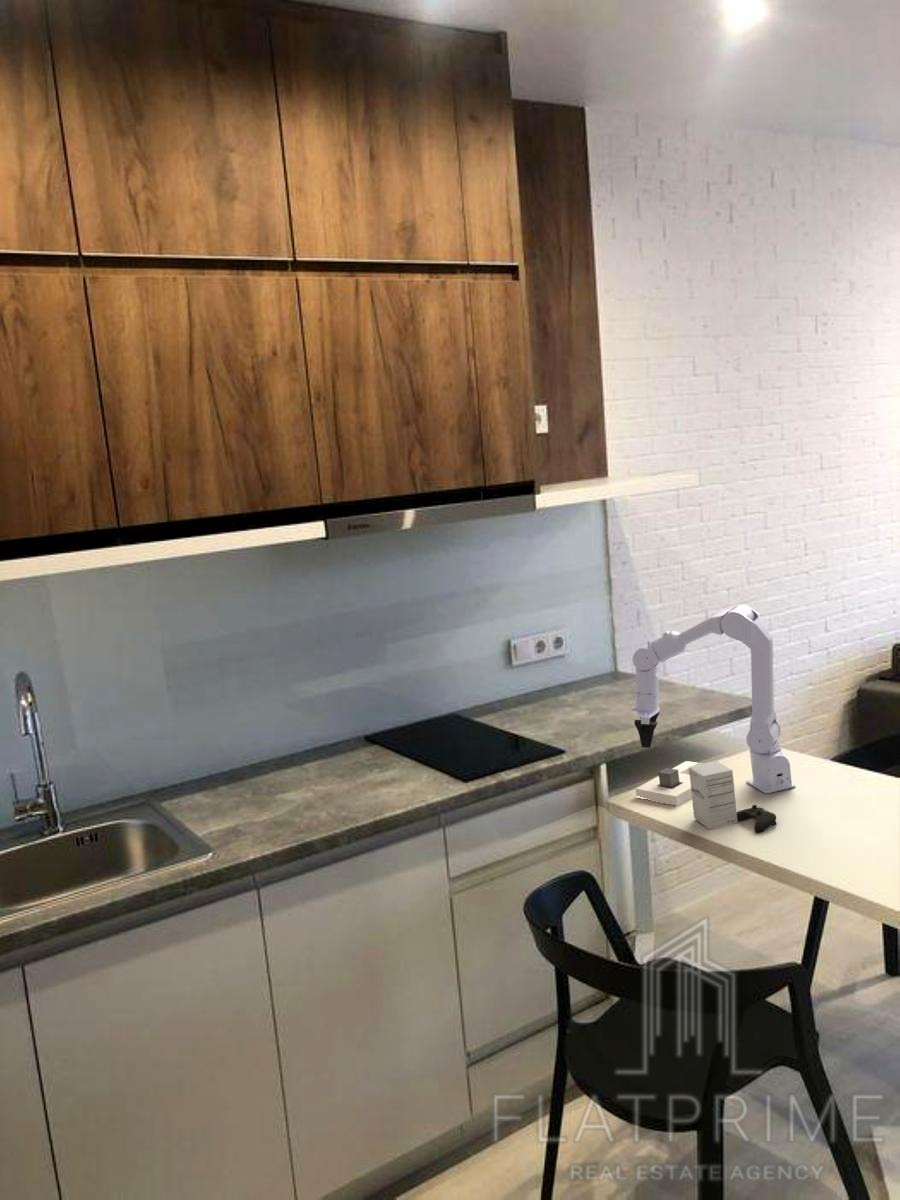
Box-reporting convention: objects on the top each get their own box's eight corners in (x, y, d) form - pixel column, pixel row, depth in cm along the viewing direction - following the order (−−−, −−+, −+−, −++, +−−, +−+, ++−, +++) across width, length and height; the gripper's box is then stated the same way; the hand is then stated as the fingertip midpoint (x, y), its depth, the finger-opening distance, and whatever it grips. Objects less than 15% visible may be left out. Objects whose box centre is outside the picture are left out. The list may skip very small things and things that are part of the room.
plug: (672, 797, 227) (669, 774, 226) (661, 795, 230) (658, 772, 229) (682, 792, 230) (679, 769, 229) (670, 790, 232) (667, 767, 232)
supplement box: (693, 818, 212) (687, 766, 210) (723, 811, 214) (717, 759, 212) (708, 830, 205) (702, 776, 203) (739, 823, 206) (733, 769, 205)
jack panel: (677, 806, 221) (676, 795, 221) (636, 798, 230) (635, 787, 230) (727, 776, 235) (726, 766, 235) (687, 770, 244) (686, 760, 244)
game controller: (729, 818, 208) (743, 795, 209) (745, 830, 210) (759, 807, 210) (755, 832, 199) (770, 808, 200) (772, 844, 201) (786, 820, 201)
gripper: (633, 682, 245) (634, 731, 248) (628, 699, 232) (629, 750, 234) (661, 683, 243) (661, 733, 246) (657, 700, 230) (657, 752, 232)
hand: (647, 742), depth 240 cm, fingers open, 7 cm apart
